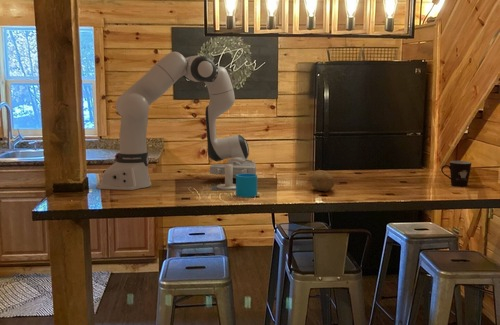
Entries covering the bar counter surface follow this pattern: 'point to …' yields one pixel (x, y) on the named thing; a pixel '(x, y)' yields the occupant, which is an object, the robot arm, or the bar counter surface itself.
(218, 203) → the bar counter surface
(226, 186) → the white post stand
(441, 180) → the bar counter surface
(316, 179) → the potato
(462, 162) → the coffee mug
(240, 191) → the mug
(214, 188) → the mat
